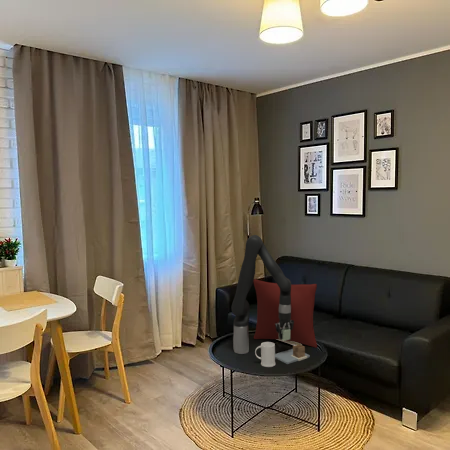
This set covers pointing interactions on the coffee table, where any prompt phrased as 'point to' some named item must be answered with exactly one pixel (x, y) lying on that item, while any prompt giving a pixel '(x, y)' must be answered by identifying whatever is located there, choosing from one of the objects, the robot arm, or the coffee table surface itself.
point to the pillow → (299, 312)
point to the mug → (267, 354)
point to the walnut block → (298, 351)
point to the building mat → (289, 356)
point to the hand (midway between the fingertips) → (284, 337)
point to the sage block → (286, 334)
